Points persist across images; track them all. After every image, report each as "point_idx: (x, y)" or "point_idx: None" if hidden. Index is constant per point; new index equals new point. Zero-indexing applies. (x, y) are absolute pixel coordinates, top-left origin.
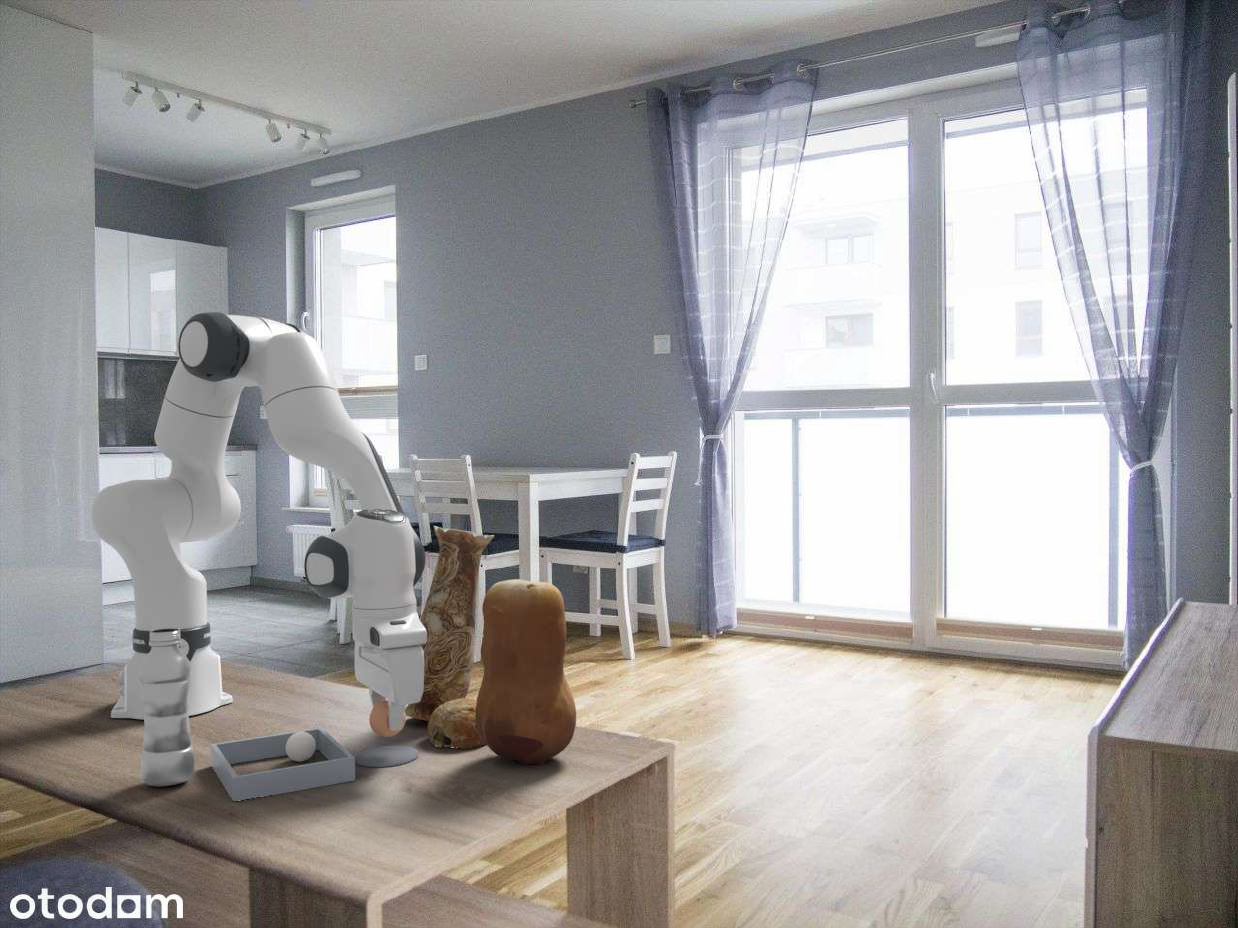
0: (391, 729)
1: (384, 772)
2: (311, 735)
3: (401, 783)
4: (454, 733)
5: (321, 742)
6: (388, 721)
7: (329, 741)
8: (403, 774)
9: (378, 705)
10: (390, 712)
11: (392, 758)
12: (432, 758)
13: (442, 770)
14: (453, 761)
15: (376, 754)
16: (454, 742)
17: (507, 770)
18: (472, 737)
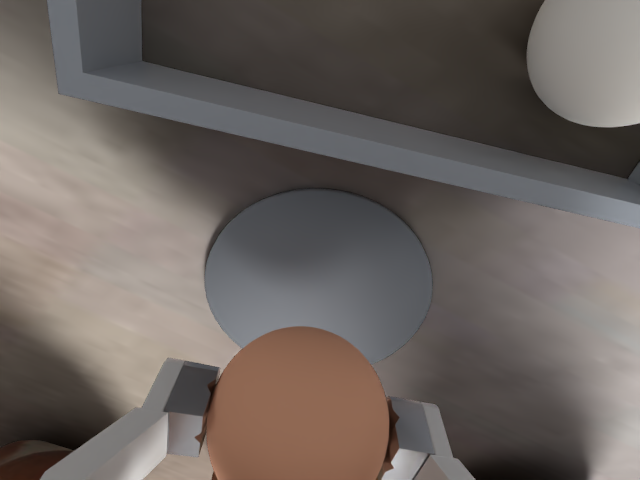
0: (167, 361)
1: (163, 210)
2: (622, 112)
3: (4, 188)
4: None
5: (610, 185)
6: (176, 391)
7: (482, 165)
8: (104, 241)
9: (293, 468)
10: (92, 439)
11: (267, 292)
12: (211, 362)
13: (82, 328)
14: (148, 379)
15: (349, 281)
16: None
17: (3, 410)
18: (212, 475)
